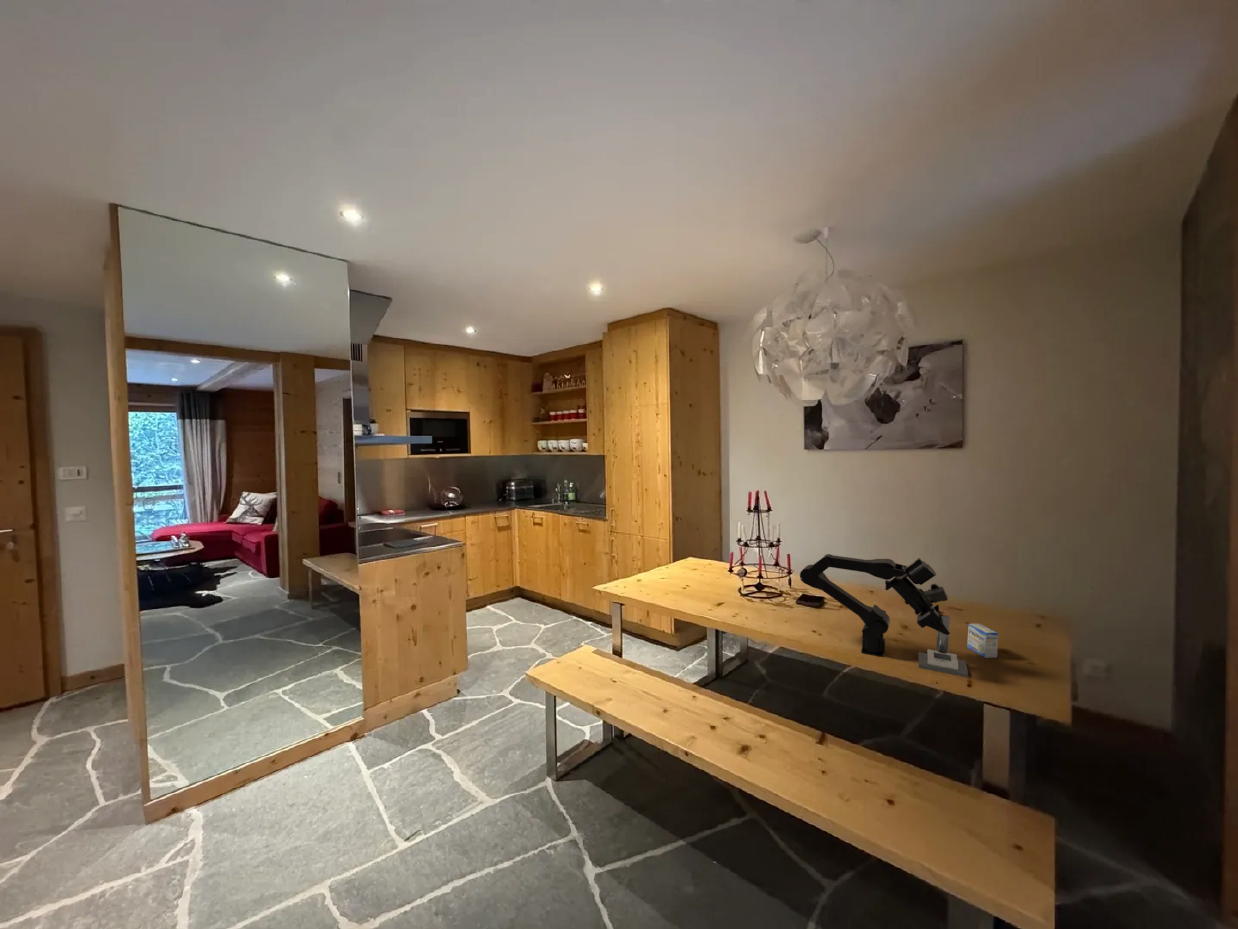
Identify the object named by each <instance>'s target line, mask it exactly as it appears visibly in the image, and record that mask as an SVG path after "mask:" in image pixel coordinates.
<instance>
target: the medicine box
mask: <svg viewBox="0 0 1238 929" xmlns="http://www.w3.org/2000/svg"><path fill="white" fill-rule="evenodd" d="M967 627H968V628H967V642H966V644H967V646H966V647H967V649H968V650H970V651H973V652H974V653H976V654H977V655H979V656H981V657H982V658H985V659H991V658H992V659H993V658H994V659H995V658H998V646H999V645H998V643H999V642H998V641H999V632H997V631H995V630H993V629H991V628H989V627H987V626H986V625H983V624H981V623H969V624H968V626H967Z"/></svg>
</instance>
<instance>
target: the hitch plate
mask: <svg viewBox="0 0 1238 929" xmlns="http://www.w3.org/2000/svg"><path fill="white" fill-rule="evenodd" d="M926 652H927V653H926ZM926 652H921V651H920V652H918V658H917V659H918V661H917V662H918V663H917V664H918V665H917V667H918V668H921V669H924V670H928V671H929V670H930V671H934V672H939V671H940V672H939V673H944V674H948V673H949V675H955V676H958V675H960V676H959V677H964V678H969V671H968V666H967V663H966V660H962V659H958V656H957V654H955V653H950V652H948V653H946V654H944V653H940V652H937V651H936V650H933V649H930V648H927V651H926Z"/></svg>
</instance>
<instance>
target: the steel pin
mask: <svg viewBox="0 0 1238 929" xmlns="http://www.w3.org/2000/svg"><path fill="white" fill-rule="evenodd" d="M938 612H940V620H941V621H942V623H943V624H944V625H945V627H946V628H947V630H948V631H949V632H950V620H951V612H950V611H948V610H944V609H939V610H938ZM949 639H950V634H949V635H945V634H943V633H941V632H939V631H937V630H936V647H935V648H936V650H935V651H937V652H940V653H944V654H946V653H949V643H950V642H949V641H950V640H949Z"/></svg>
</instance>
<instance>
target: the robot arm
mask: <svg viewBox="0 0 1238 929" xmlns="http://www.w3.org/2000/svg"><path fill="white" fill-rule="evenodd" d="M828 568H833V569H841V570H847V571H855V572H859V573H866V574H869V575H871V576H873V577H875V578H878V579H881V580H885V582H884V584H885V588H884V590H885V591H889V590H890V589H893V590H894V591H895V592H896V593H897V594H898V595H899V596H900V597H901V598H902V599H903V600H904V604H905V605H908V606H910V608H911V609H913V611H914V614H915V615H916V616H917V617H916V623H917V625H918V626H919V628H921V629H924V628H925V627H928V628H930V629H933V630H935V631H936V632H937V631H939V632H941V633H943V634H945V635H949V636H950V634H951V632H950V630H949V631H948V630H947V628H946V627H945V625H944V624H943V623H942V621H941V620H940V612H938V610H940V605H939V604H937V603H939V602H946V601H948V600H949V598H948V594H947V592H946V591H945V588H944V587H943V586H942V585H941V586H939V585H938V583H933V584H930V589H927V590H923V589H922V588H919V587H918V585H920V586H922V585H923V584H925V583H926V582H929V581H930V580H931V579H933V578H934V577H936V576H937V573H936V571H935V570H934V569H933V567H931V566H930V564H929V563H926V561H924V560H922V559H921V558H919V557H918V558H917V559H915V560H914V561H913V562H912V563H911V564H909V565H908V566H907V565H905V564H900V563H896V562H895V561H894V560H893V559H890V558H875V559H873V558H872V559H863V558H855V557H848V556H842V555H841V556H840V555H835V554H831V553H830V554H829V553H827V554H825V555H823V556H822V558H820V559H819V560H817V561H816V562H815V563H813V564H808V565H806V566H805V567H804V568H803V569H802V570H801V571H800V573H799V578H800V581H801V582H802V583H803V584H805V585H808V586H809V587H811V588H813V589H815V590H816V589H817V590H820V591H822V592H824V593H825V594H827V595H828V596H829V597H831V598H832V599H834V600H836V602H838V603H840V605H842V606H844V607H845V608H847V609H848V610H850V611H851V612H852V613H854V614H855V615H857V616H858V617H859V618H860V620H861V621H862V622H863V623H864V625H863V627H862V629H861V635H862V637H861V639H862V640H861V644H862V645H861V653H863V654H868V655H873V656H878V657H883V656H884V654H886V638H884V634H886V633H887V631H888V630H889V628H890V625H891V619H890V616H889V615H888V613H887V611H886V610H884V609H882V608H880V606H878V605H877V604H874V605H873V606H870V605H867V604H865V603H863V602H862V601H861V600H859V599H857V598H856V597H855V596H853V595H852V594H850V593H849V592H848V591H846V590H844V589H843V588H842V587H840V586H838V585H837V584H836V583H834V582H833V581H831V580H830V579H829V578H828V576H827V574H826V573H824V572H825V571H826V570H827V569H828ZM916 585H917V586H916ZM934 603H935V604H936V605H935V606H934Z"/></svg>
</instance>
